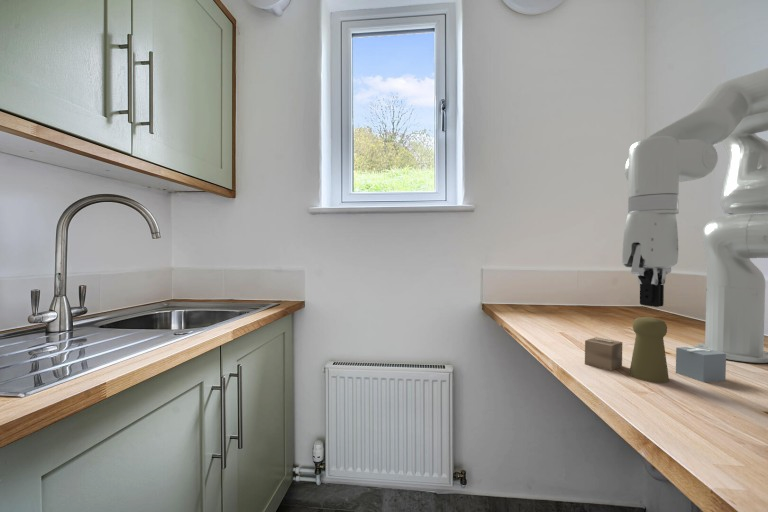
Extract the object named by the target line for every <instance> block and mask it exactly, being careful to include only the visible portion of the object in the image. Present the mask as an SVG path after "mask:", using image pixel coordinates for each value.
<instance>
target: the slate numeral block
mask: <svg viewBox="0 0 768 512" xmlns="http://www.w3.org/2000/svg"><path fill="white" fill-rule="evenodd" d="M675 351H676V352H675V374H678V375H680V376H684V377H687V378H690V379H692V380H696V381H698V382H701V383H713V381H714V382H725V381H726V379H727V378H726V376H727V375H726V374H727V372H726V369H727V366H726V365H727V359H726V354H725V353H721V352H718V351H714V350H710V349H706V348H702V347H698V346H696V345H695V346H681V347H676V349H675Z"/></svg>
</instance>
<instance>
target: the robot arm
mask: <svg viewBox="0 0 768 512" xmlns="http://www.w3.org/2000/svg"><path fill="white" fill-rule="evenodd" d="M767 131H768V67H766V68H763V69H759V70H757V71H754V72H751V73H747V74H745V75H741V76H738V77H736V78H732V79H729V80H726V81H724V82H722V83H720V84H718V85H716V86H715V87H713V88H712V89H710V91H709V92H707V94H706V95H705V96H704V97H703V98H702V99H701V100H700V101H699V103H698V104H697V105H696V106H695V107H694V108H693V109H692V110H691V111H690V112H689V113H687V115H684V116H682V117H680V118H679V119H676V120H675V121H674V122H672V123H670V124H669V125H667V126H665V127H663V128H662V129H660V130H657V131H656V132H654V133H653V134H651V135H649V136H648V137H647V138H643V139H640V140H637V141H635V142H634V143H632V144H631V146H630V147H629V149H628V158H627V160H626V163H625V167H624V175H625V178H626V181H627V183H628V185H627V188H628V189H627V190H628V192H627V195H628V197H627V204H628V205H627V216H626V220H625V224H624V231H623V242H622V255H621V257H622V258H621V261H622V265H623V267H625V268H631V269H630V271H631V272H630V274H632V275H634V276H637V280H638V281H637V282H638V284H639V304H640V306H645V307H654V308H658V307H663V306H664V305H665V304H664V302H665V301H664V295H665V294H664V291H665V289H664V288H665V287H664V286H665V284H666V278H667V275H668V274H670V273H672V268H673V267H674V266H676V265H677V264H678V261H679V260H678V259H679V234H678V233H679V232H678V222H677V215H678V214H679V209H680V208H679V207H680V206H679V205H680V204H679V203H680V201H679V200H680V197H679V196H680V183H682V182H691V181H695V180H699V179H702V178H705V177H707V176H708V175H710V174H711V173H712V172H713V171H714V170H715V168H716V167H717V164H718V159H719V158H718V156H719V155H718V152H717V150H716V148H715V147H714V146H716V145H718V144H720V143H722V144H721V145H723V147H724V150H725V151H726V155H727V156H728V162H727V168H726V172H725V176H724V179H723V184H722V187H721V188H722V189H721V193H720V198H719V199H720V206H721V208H722V209H723V210H724V211H725V212H727V213H730V214H733V215H724V216H719V217H715V218H713V219H711V220H710V221H708V222H707V223H706V224H705V225H704V226H703V228H702V233H701V234H702V235H701V237H702V239H701V240H702V245H703V250H704V255H705V262H706V264H705V265H706V292H705V293H706V294H705V295H706V296H705V329H704V330H705V332H704V333H705V336H704V337H705V339H704V340H705V341H704V342H700V343H697V344H696V345H695V347H696V346H698V347H702V348H706V349H710V350H714V351H718V352H721V353H725V354H726V360H729V361H734V362H735V361H736V362H744V363H755V364H756V363H757V364H767V363H768V352H767V351H765V350H764V349H765V348H764V345H765V344H764V343H765V308H766V307H765V306H766V278H765V276H764V273H763V272H762V271H761V270H760V268H759V267H757V265H756V264H755V263H754V262H752V260H751V259H763V258H764V259H768V140H766V139H763V138H761V137H759V136H758V135H757V134H758V133H763V132H767Z"/></svg>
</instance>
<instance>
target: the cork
mask: <svg viewBox="0 0 768 512" xmlns="http://www.w3.org/2000/svg"><path fill="white" fill-rule="evenodd" d="M632 329H633V330H632V331H633V332H634V333H635V338H634V345H633V350H632V355H631V361H630V366H629V367H630V368H629V371H628V372H629V376H631V377H633V378H635V379H638V380H641V381H645V382H649V383H657V384H661V383H662V384H663V383H668V382H669V381H670V377H669V370H668V362H667V356H666V355H667V354H666V350H665V349H666V348H665V343H664V342H665V341H664V340H665V339H664V337H665V336H666V335H667V332H668V325H667V323H666V322H665V321H664V320H662V319H660V318H656V317H650V316H649V317H647V316H644V317H643V316H642V317H637V318H634V320H633V323H632Z"/></svg>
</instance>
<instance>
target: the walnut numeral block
mask: <svg viewBox="0 0 768 512" xmlns="http://www.w3.org/2000/svg"><path fill="white" fill-rule="evenodd" d="M584 365H587V366H590V367H595V368H598V369H603V370H606V371H610V372H612V371H614V370H616V369H619V368H620V367H623V341H618V340H612V339H610V338H609V339H608V338H602V337H597V336H595V337H593V338H590V339H585V340H584Z"/></svg>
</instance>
